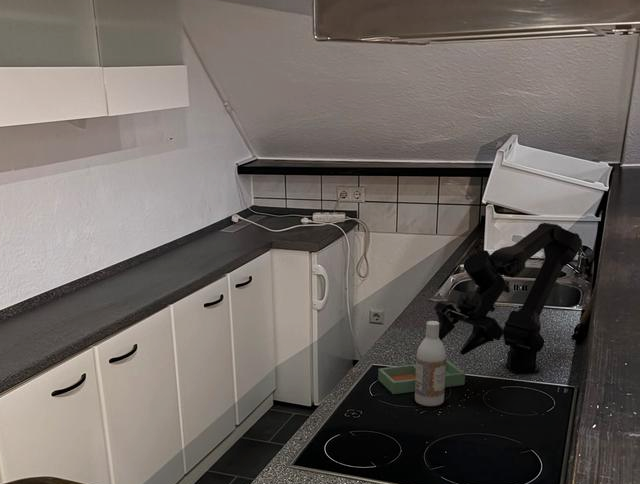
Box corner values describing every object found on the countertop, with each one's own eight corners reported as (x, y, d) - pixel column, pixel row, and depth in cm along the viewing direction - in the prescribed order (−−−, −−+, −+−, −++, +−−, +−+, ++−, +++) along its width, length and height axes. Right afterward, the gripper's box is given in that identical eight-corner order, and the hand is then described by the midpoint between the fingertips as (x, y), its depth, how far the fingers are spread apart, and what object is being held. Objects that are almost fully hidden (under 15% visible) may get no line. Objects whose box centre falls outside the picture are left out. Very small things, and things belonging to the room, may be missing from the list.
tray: (446, 370, 202) (447, 359, 201) (464, 384, 193) (465, 373, 192) (378, 379, 198) (378, 368, 197) (393, 394, 189) (393, 382, 188)
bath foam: (428, 409, 180) (432, 329, 172) (408, 400, 185) (411, 321, 178) (450, 402, 183) (454, 323, 176) (429, 393, 189) (433, 316, 181)
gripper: (441, 269, 186) (404, 320, 185) (498, 285, 171) (458, 341, 170) (463, 295, 192) (428, 344, 191) (520, 312, 177) (482, 366, 176)
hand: (447, 348), depth 182 cm, fingers open, 9 cm apart
